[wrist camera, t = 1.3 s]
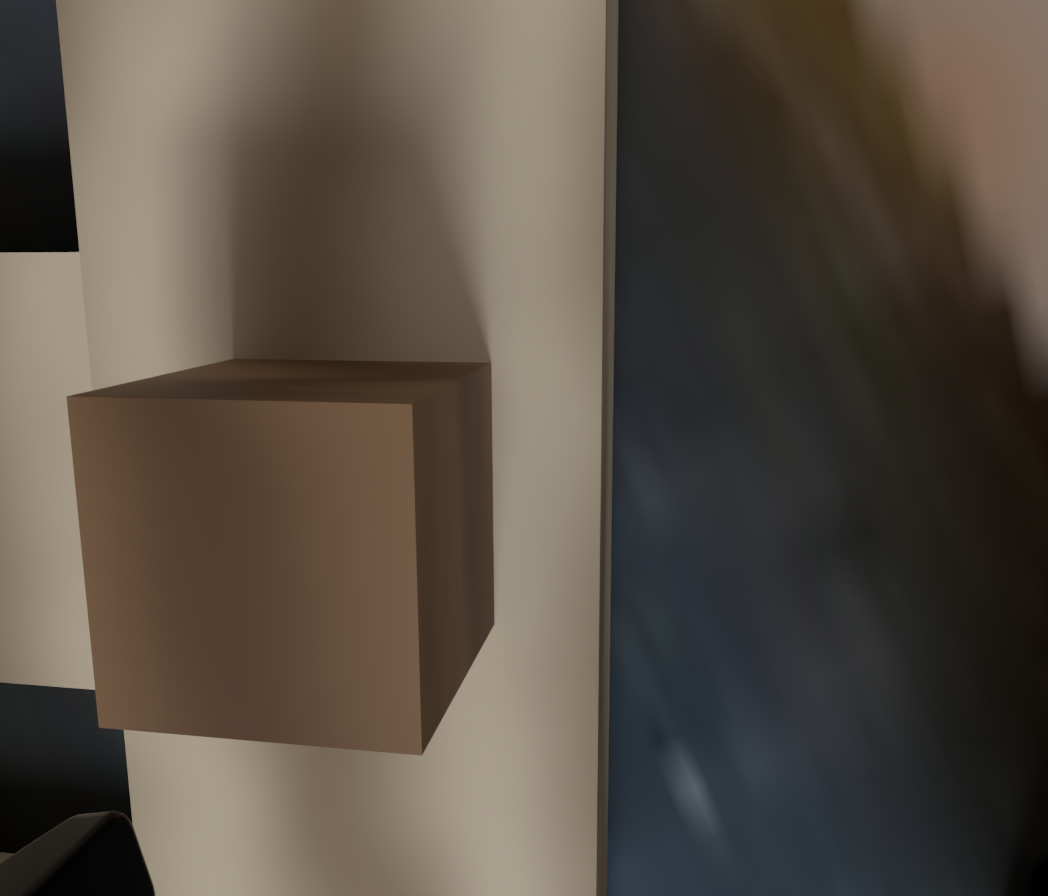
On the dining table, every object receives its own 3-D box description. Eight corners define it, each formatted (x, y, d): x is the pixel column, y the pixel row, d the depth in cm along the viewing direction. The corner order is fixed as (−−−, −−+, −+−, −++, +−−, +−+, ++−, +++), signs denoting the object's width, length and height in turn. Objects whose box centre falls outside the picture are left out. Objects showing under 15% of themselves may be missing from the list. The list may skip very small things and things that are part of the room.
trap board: (619, -140, 18) (607, -202, 15) (606, 959, 22) (594, 1044, 20) (-406, -63, 22) (-544, -102, 19) (-243, 857, 26) (-338, 918, 24)
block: (491, 362, 17) (412, 404, 13) (494, 624, 18) (422, 755, 14) (232, 359, 18) (66, 396, 14) (248, 609, 19) (99, 727, 14)
